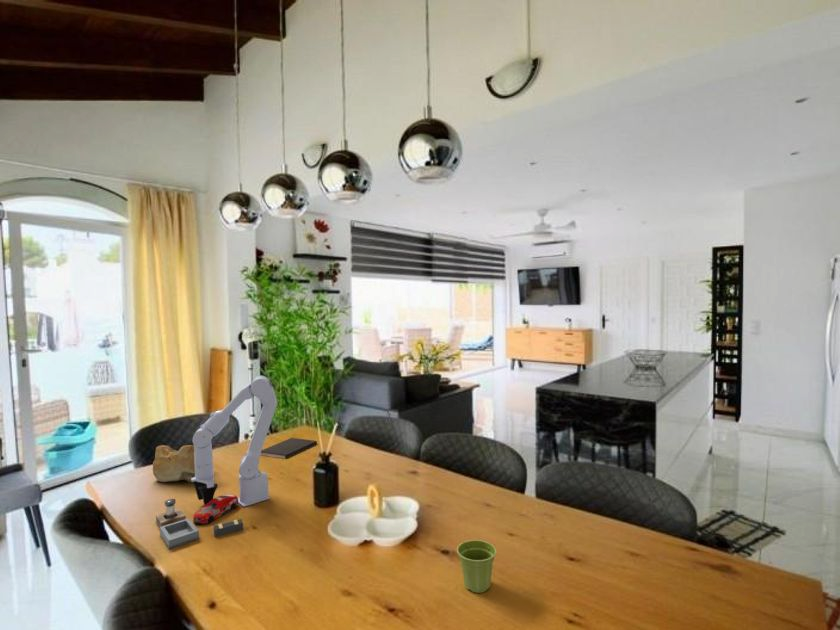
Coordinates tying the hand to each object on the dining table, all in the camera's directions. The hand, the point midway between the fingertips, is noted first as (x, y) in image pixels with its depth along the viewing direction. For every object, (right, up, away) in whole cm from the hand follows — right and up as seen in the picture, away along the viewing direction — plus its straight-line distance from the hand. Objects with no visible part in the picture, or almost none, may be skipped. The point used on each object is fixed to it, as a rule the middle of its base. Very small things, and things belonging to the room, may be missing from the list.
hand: (205, 502), depth 155 cm
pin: (-6, -2, -10) cm, 12 cm away
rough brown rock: (-21, -2, +29) cm, 35 cm away
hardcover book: (+11, -1, +62) cm, 63 cm away
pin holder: (-6, -2, -10) cm, 12 cm away
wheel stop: (+16, -2, -17) cm, 23 cm away
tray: (+2, -2, -20) cm, 20 cm away
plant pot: (+88, -1, -47) cm, 100 cm away
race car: (+6, -2, -5) cm, 8 cm away
